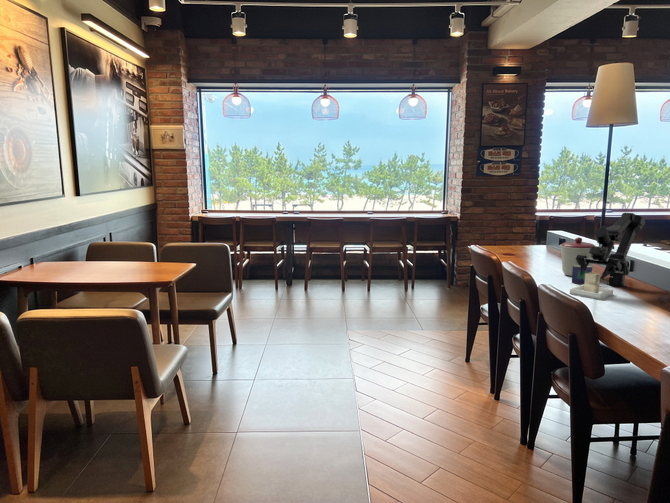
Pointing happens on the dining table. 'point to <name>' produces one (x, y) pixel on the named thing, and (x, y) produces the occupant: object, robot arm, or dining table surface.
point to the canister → (574, 254)
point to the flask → (576, 274)
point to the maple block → (592, 282)
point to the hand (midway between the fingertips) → (591, 276)
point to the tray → (580, 292)
